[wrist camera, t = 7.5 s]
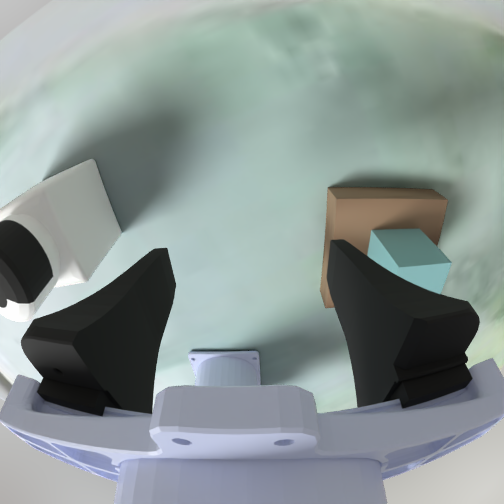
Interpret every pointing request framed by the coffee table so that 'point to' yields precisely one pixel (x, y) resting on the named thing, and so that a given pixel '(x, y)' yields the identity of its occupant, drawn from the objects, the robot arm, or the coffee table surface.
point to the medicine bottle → (53, 238)
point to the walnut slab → (378, 217)
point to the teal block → (410, 257)
